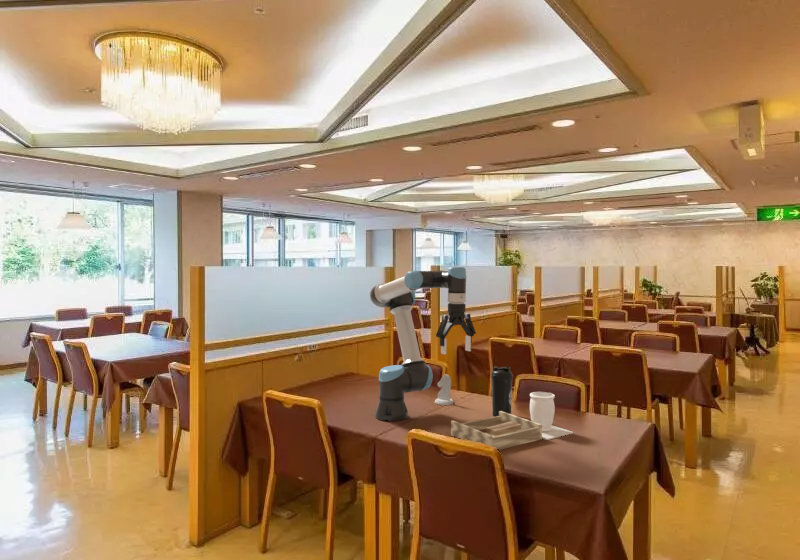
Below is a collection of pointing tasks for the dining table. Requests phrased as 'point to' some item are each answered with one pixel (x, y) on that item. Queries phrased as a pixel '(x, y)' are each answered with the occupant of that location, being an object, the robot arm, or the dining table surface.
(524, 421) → the rack
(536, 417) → the jar
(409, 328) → the robot arm
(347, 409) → the dining table surface
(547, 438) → the mat
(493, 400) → the water bottle
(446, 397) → the chess piece
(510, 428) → the offcut stack
